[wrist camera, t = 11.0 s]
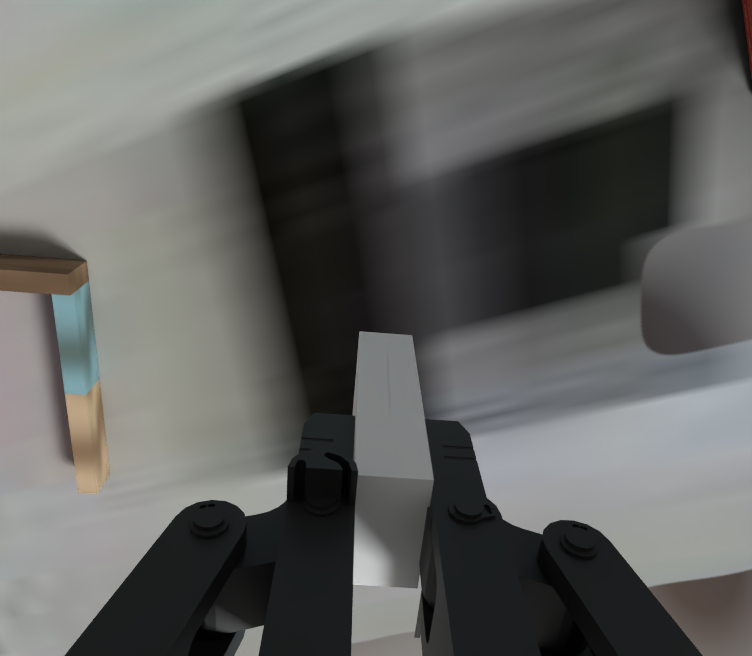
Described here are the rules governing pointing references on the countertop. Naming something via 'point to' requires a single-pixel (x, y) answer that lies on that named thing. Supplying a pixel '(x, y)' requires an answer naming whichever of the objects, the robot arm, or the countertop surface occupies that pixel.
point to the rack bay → (70, 354)
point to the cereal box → (748, 27)
